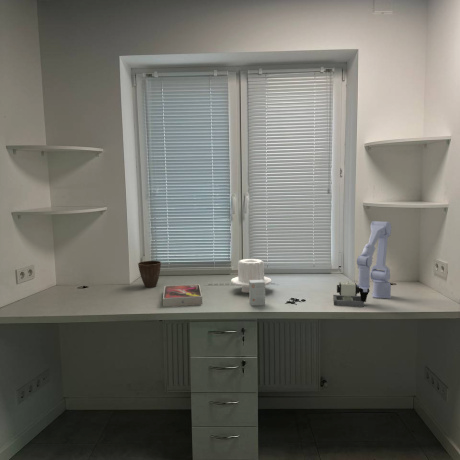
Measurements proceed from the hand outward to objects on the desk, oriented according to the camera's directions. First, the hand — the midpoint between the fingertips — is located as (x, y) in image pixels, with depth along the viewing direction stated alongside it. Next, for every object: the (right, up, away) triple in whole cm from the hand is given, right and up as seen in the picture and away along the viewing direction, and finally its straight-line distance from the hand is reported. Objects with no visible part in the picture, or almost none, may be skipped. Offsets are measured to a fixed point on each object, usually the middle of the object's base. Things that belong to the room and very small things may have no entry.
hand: (363, 301), depth 212 cm
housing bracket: (-7, -1, +2) cm, 7 cm away
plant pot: (-127, +2, +45) cm, 134 cm away
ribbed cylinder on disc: (-60, +1, +30) cm, 67 cm away
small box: (-58, -2, +3) cm, 58 cm away
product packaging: (-102, -2, +16) cm, 103 cm away
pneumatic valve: (-8, -1, +2) cm, 9 cm away
